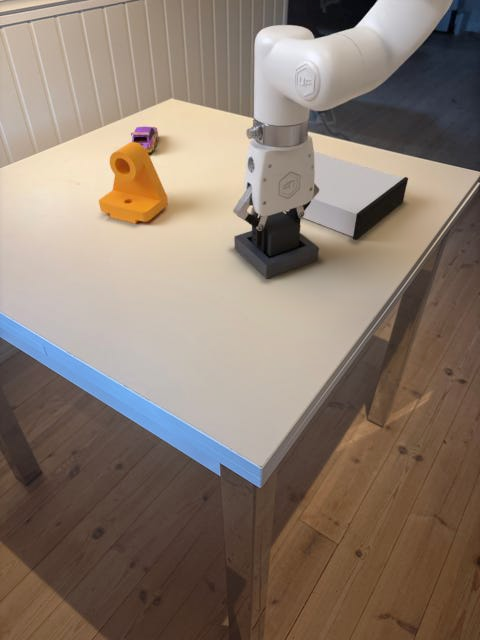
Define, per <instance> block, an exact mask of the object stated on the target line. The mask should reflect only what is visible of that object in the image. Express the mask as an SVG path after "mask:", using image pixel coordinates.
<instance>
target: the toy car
mask: <svg viewBox="0 0 480 640" xmlns="http://www.w3.org/2000/svg"><path fill="white" fill-rule="evenodd" d="M130 137H131V142H136V143H139V144H141V145H142V146H143V147H144V148H145V149H146V150H147V152H148V154H151V153H152V152H154V151H155V146H157V144H158V141H159V130H158V128H157V127H156V126H137V127H136V128H135V130H134V131H133V132H131V133H130Z"/></svg>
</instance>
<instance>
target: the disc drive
mask: <svg viewBox="0 0 480 640" xmlns="http://www.w3.org/2000/svg"><path fill="white" fill-rule="evenodd" d="M314 161H315V178H314V183H315V184H316V186H317V187H318V188H319V192H318V194H317V195H316V196H315V197H314V198H313V199H312V200H311V203H310V204H309V206H308V207H307V208H306V210H305V211H304V212H305V214H304V216H303V217H302V218H303V219H306V220H308V221H311V222H314V223H315V224H318V225H320V226H323V227H326V228H329V229H332V230H334V231H337V232H338V233H342V234H344V235H347V236H349V237H351V238H352V239H353V240H354V241H357V240H358V239H360V238H361V237H362V236H363V235H364V234H365V233H367V231H369V230H370V229H372V228H373V227H374V226H375V225H376V224H378V223H379V222H380V221H382V220H383V219H384V218H385V217H386V216H388V215H389V214H390V213H392V211H394V210H395V209H396V208H397V207H399V206H400V205H401V204H402V203H404V200H405V199H404V198H405V195H406V191H407V185H408V181H409V177H408V176H404V177H401V176H397V175H394V174H391V173H387V172H384V171H381V170H378V169H375V168H371V167H368V166H365V165H361V164H358V163H354V162H351V161H347V160H345V159H340V158H338V157H335V156H331V155H328V154H324V153H320V152H317V151H314ZM286 211H289V210H286ZM286 211H285V212H286Z"/></svg>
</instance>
